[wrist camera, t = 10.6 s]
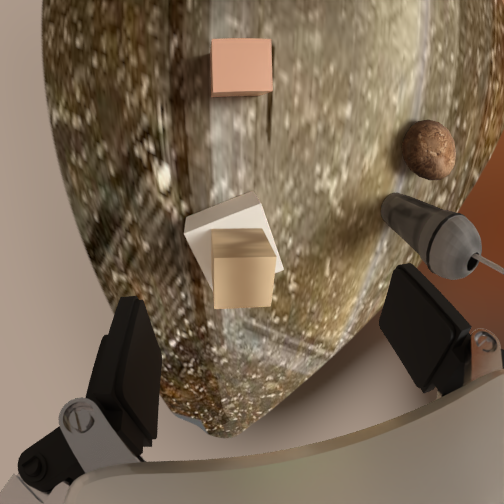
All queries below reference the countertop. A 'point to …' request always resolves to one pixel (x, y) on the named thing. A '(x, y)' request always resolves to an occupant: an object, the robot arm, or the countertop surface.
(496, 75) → the countertop surface
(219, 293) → the oak block
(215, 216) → the white block
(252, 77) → the terracotta block
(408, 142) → the mushroom
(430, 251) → the beverage cup
